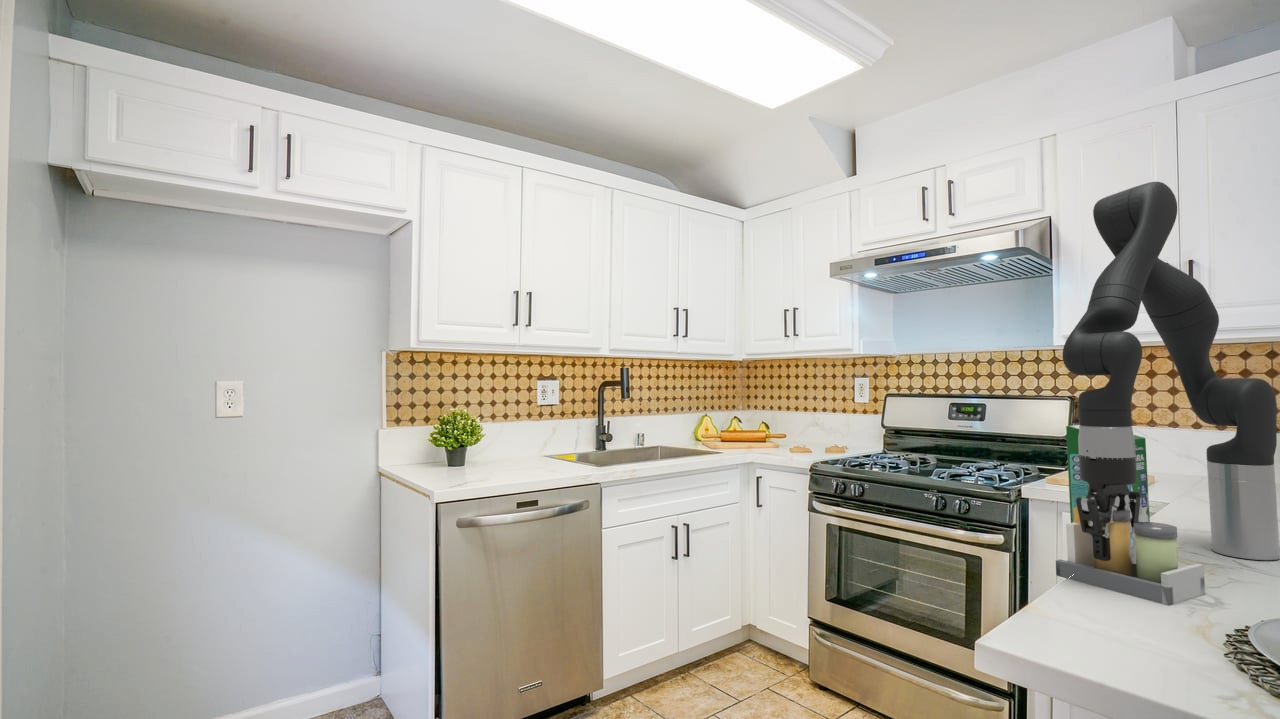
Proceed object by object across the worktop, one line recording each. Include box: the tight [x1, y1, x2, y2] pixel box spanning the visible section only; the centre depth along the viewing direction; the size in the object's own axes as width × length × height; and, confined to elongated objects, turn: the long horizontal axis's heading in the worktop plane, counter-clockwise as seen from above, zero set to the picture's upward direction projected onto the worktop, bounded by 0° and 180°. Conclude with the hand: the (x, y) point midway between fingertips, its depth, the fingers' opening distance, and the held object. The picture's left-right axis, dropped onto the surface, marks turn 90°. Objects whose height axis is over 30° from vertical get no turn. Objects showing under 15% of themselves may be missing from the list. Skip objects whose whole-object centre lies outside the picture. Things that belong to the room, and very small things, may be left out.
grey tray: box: [1055, 559, 1206, 606], centre depth 100 cm, size 10×16×5 cm, turn 25°
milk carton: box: [1065, 424, 1151, 562], centre depth 117 cm, size 9×9×25 cm
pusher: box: [1065, 507, 1094, 567], centre depth 106 cm, size 7×1×11 cm, turn 115°
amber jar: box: [1093, 510, 1132, 576], centre depth 102 cm, size 5×5×10 cm
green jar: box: [1133, 521, 1179, 584], centre depth 96 cm, size 5×5×10 cm
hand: (1111, 556), depth 102 cm, fingers closed on amber jar, 5 cm apart
